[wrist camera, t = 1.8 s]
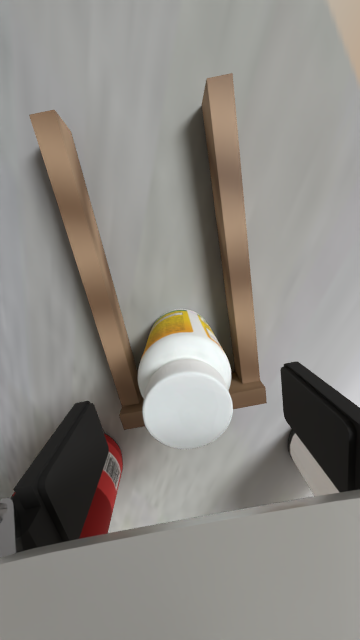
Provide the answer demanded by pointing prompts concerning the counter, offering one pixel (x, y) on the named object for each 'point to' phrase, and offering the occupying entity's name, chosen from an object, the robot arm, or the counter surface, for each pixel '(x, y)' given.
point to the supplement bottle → (184, 382)
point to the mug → (309, 468)
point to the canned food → (104, 494)
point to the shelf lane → (95, 268)
